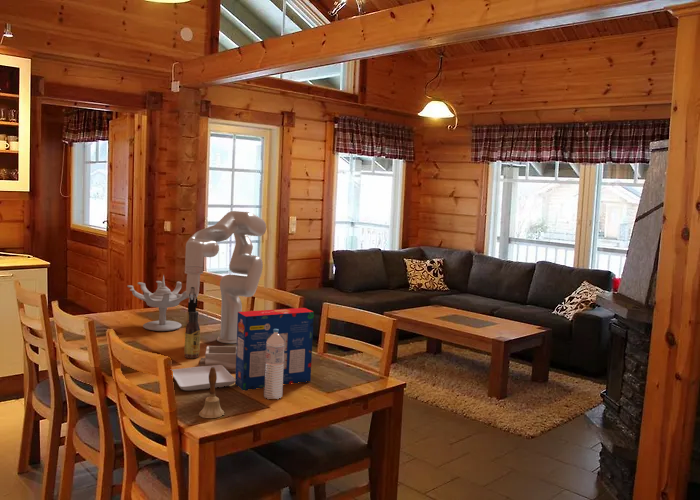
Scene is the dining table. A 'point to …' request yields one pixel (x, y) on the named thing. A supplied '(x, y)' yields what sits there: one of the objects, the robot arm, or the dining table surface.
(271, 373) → the water bottle
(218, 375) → the salad plate
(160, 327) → the candelabra
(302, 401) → the dining table surface
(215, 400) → the hand bell
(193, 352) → the sauce bottle
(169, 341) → the dining table surface
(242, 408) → the dining table surface
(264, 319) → the blue cardboard box
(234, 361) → the bottle caddy
